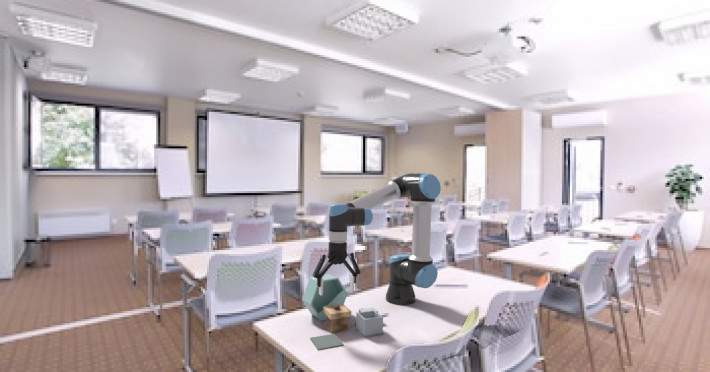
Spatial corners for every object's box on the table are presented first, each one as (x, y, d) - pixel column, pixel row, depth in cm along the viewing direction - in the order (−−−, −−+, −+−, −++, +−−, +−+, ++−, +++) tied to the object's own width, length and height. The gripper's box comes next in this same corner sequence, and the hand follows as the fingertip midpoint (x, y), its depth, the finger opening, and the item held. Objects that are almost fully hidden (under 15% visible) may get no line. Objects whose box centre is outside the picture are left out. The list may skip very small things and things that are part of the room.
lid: (343, 308, 156) (343, 301, 156) (351, 316, 148) (351, 308, 148) (323, 311, 153) (323, 303, 153) (330, 319, 145) (330, 311, 145)
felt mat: (334, 334, 145) (334, 333, 145) (343, 345, 136) (343, 344, 136) (309, 338, 141) (309, 337, 141) (317, 350, 132) (317, 349, 132)
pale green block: (372, 318, 162) (372, 307, 162) (378, 322, 158) (378, 311, 158) (358, 320, 159) (358, 309, 159) (363, 325, 155) (363, 313, 155)
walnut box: (341, 324, 155) (341, 310, 155) (347, 330, 149) (348, 315, 149) (325, 326, 152) (326, 312, 152) (331, 333, 146) (331, 318, 146)
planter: (326, 329, 161) (304, 295, 153) (317, 323, 167) (295, 290, 159) (352, 302, 169) (332, 268, 162) (343, 297, 175) (323, 264, 168)
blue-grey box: (373, 326, 153) (373, 310, 153) (382, 334, 146) (382, 316, 146) (356, 329, 150) (356, 312, 150) (364, 337, 143) (364, 319, 142)
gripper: (361, 238, 158) (360, 287, 159) (305, 241, 148) (304, 293, 149) (369, 241, 151) (367, 292, 152) (311, 244, 141) (310, 298, 142)
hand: (336, 292), depth 150 cm, fingers open, 13 cm apart
